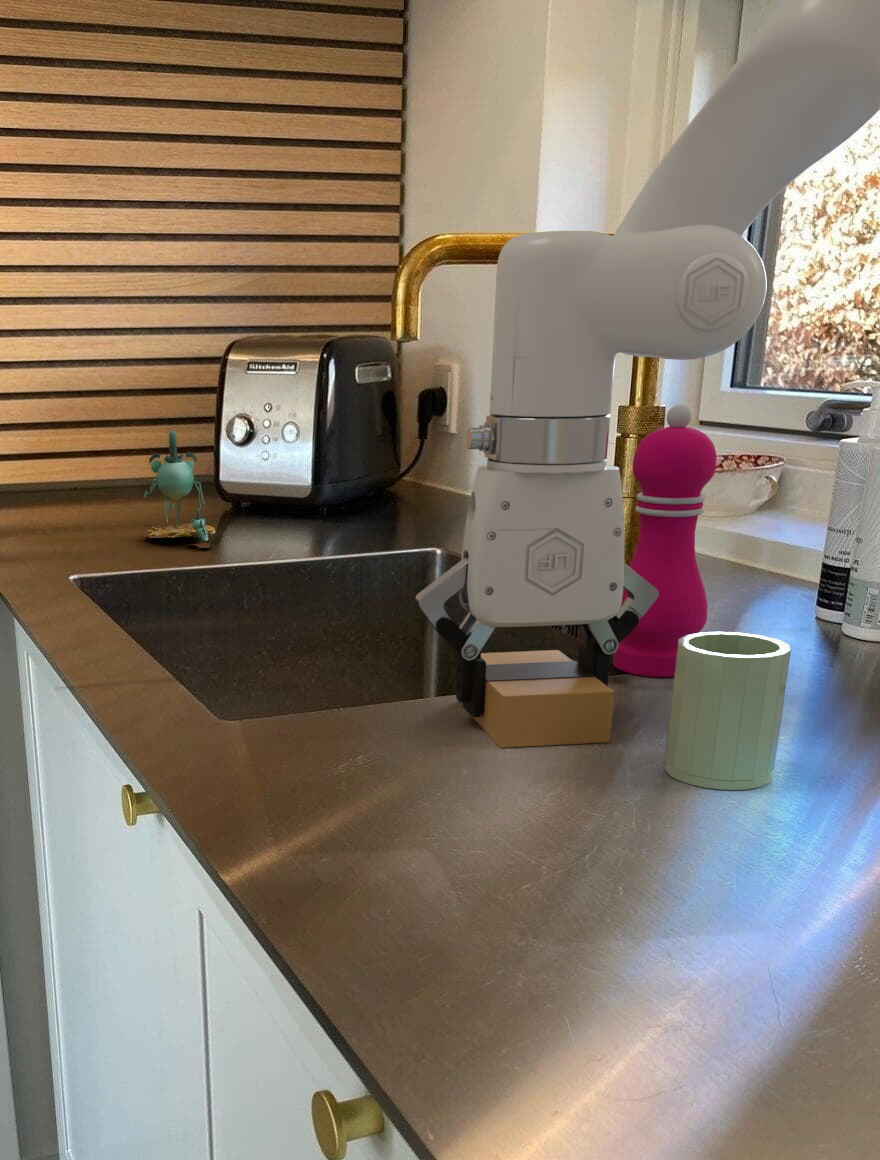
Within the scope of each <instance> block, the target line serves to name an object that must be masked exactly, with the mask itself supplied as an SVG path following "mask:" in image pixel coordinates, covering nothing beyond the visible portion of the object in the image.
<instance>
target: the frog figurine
mask: <svg viewBox="0 0 880 1160" xmlns="http://www.w3.org/2000/svg"><path fill="white" fill-rule="evenodd" d="M177 444H178V443H177V431H175V430H174V429H172V430H171V431H169V432H168V445H169V446H168V448H169V449H168V450H169V455H168V454H166V455H165V457H164V462H163V463H162V461H161V460H159V459H160V458H161V454H160V453H159V452H155V453H153V454H152V455H151V456H150V457H149V459H148V463H149V464H150V467H151V471H152V472H153V473H155V474H156V478H153V479H152V484H151V485H150V487H149V492H148V491H145V492H144V494H143V497H144V498H145V499H147V497H148V495H150V494H152V492H153V491H154V489H155V488H156V487H157V488H158V489H159V491H160V492H161V494H162V495H164V497H165V499H164V507H163V508H164V509H163V515H164V517H165V522H166V523H167V524H169V521H168V515H167V513H166V511H167V512H168V513H169V512H170V510H171V508H172V510H173V511H175V510H176V524H175V525H167V527H164V526H160V527H161V528H155V527H153V526H151V527H150V529H151V528H152V529H153V530H158V531H153V530H148V529H147V530H148V531H152V533H151V534H148V535H150V536H167V537H168V538H167V539H177V538H176V537H179V538H182V537H181V536H185V537H184V538H189V537H194V538H195V539H196V536H195V535H196V534H198V535H199V536H197V538H198V539H199V542H203V541H209V542H210V538H209V537H210V535H208V534H211V535H214V534H216V529H215V526H211V525H207V524H206V519H207V517H206V516H205V515H203V516H200V510H201V509H202V507H205V506H206V502H205V500H204V495H203V490H202V485H201V484H202V483H201V482H199V481H197V480H195V477H194V473H193V470H194V468H195V467H194V465H195V464H194V461H195V462H198V458H197V456H196V455H195V454H194V453H193V452H186V453H185V458H191V459H193V460H194V461H192V460H190V459H188V460H185V461H184V454H183V453H180V454H179V455H178V445H177ZM197 484H198V485H199V486H198V485H197ZM194 486H195V488H196V489H197V491H198V505H197V506H198V507H197V508H196V517H194V516H190V517H189V520H190V522H189V523H183V524H181V525H179V524H180V521H181V506H182V501H183V497H185V496H187V495H189V494H190V493H191V491H192V489H193V487H194ZM169 499H171V500H174V501H176V500H177V501H176V502H177V503H176V509H175V506H174V504H173V503H172V502H170V500H169ZM201 501H202V503H201ZM192 535H194V536H192ZM170 537H171V538H170ZM194 538H193V539H194ZM198 549H200V548H198ZM200 550H201V549H200Z"/></svg>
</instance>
